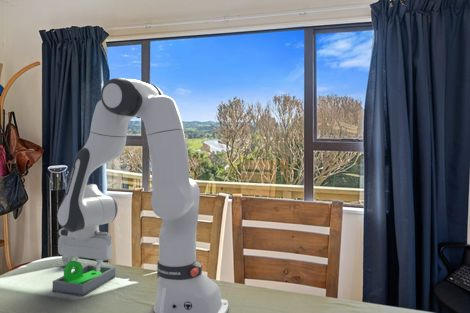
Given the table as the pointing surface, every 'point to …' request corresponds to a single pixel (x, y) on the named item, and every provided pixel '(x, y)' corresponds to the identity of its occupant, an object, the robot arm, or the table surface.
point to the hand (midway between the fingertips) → (85, 269)
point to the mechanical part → (78, 273)
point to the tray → (87, 287)
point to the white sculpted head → (65, 259)
